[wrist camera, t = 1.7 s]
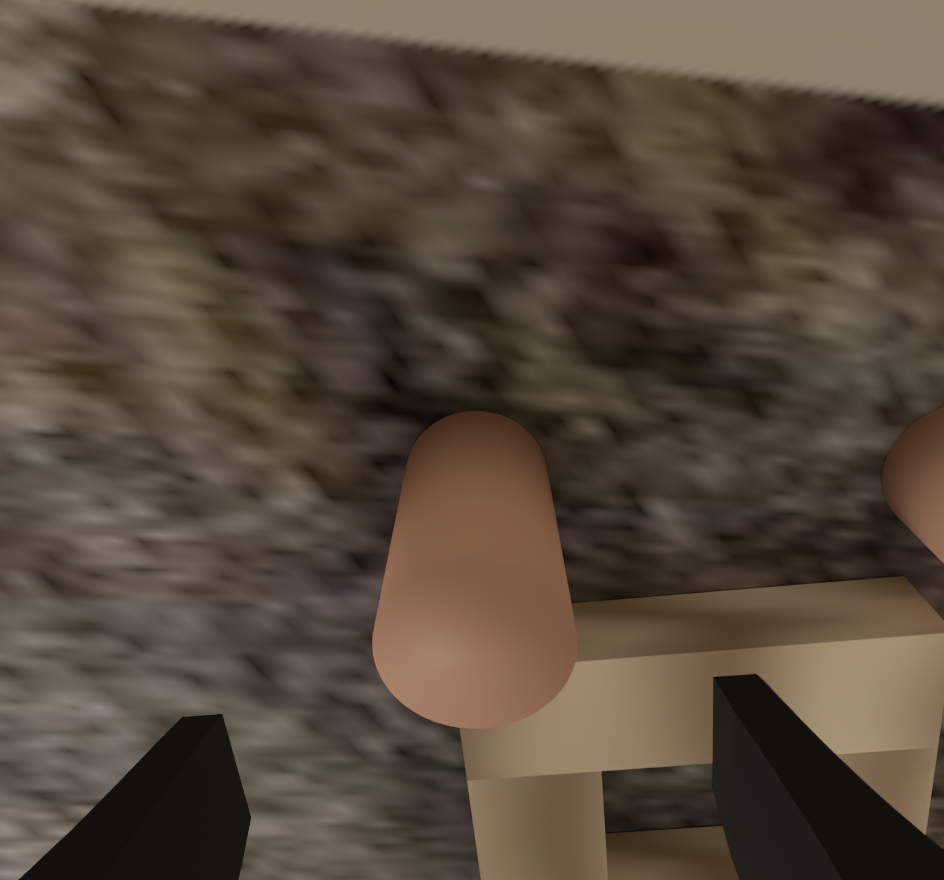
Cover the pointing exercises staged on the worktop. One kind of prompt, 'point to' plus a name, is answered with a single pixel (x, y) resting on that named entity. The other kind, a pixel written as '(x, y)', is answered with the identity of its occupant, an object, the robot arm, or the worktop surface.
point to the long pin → (475, 579)
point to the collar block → (705, 718)
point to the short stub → (919, 480)
